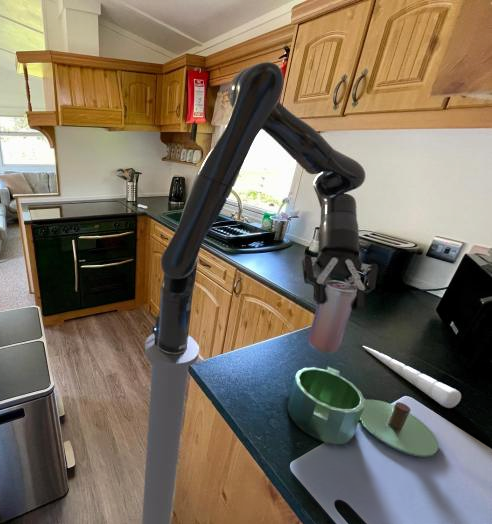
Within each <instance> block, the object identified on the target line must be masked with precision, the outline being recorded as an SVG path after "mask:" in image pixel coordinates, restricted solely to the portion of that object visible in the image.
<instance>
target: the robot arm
mask: <svg viewBox="0 0 492 524" xmlns="http://www.w3.org/2000/svg"><path fill="white" fill-rule="evenodd" d="M284 81H285V80H284V74H283V71H282V69H281V67H279V65H278V64H276V63H274V62H271V61H265V62H259V63H255V64H253V65H251V66H248V67H247V68H244V69H242V70H240V71H239V72H238V73H237V74H235V76H233V78H232V79H231V81H230V83H229V86H228V91H227V98H228V103H229V105H230V106H231V108H232V111H231V113H230V115H229V118H228V121H227V123H226V125H225V128H224V130H223V131H222V134H221V135H220V136H219V138H218V140H217V141H216V142H215V143H214V145H213V146H212V147H211V149H210V150H209V152H208V153H207V155H206V156H205V158H204V159H203V161H202V162H201V164H200V166H199V168H198V170H197V173H196V174H195V178H194V180H193V182H192V185H191V187H190V190H189V193H188V196H187V197H186V200H185V204H184V207H183V210H182V213H181V216H180V220H179V223H178V224H177V227H176V229H175V231H174V233H173V235H172V237H171V238H170V241H169V242H168V244H167V246H166V247H165V249H164V251H163V252H162V254H161V256H160V257H161V258H160V267H161V270H162V272H163V277H162V282H161V285H160V297H159V312H158V313H159V314H158V315H157V316H156V317H155V324H154V325H152V329H151V330H152V333H151V334H153V333H154V335H155V342H154V344H155V345H157V347H158V349H159V350H160V351H162V352H163V353H165V354H169V355H180V354H182V353H184V352H185V351H186V350H187V344H188V335H189V334H190V333H189V332H190V324H191V315H192V305H193V297H194V291H195V290H194V289H195V286H196V285H195V284H196V278H197V269H198V261H199V253H200V250H201V248H202V245H203V243H204V240H205V238H206V236H207V235H208V233H209V231H210V230H211V228H212V227H213V225H214V224H215V222H216V220H217V218H218V217H219V216H220V214H221V211H222V210H223V209H224V206H225V204H226V203H227V201H228V199H229V197H230V195H231V193H232V191H233V189H234V187H235V185H236V182H237V180H238V177H239V176H240V174H241V171H242V169H243V167H244V165H245V164H246V161H247V158H248V156H249V154H250V152H251V150H252V148H253V146H254V144H255V142H256V140H257V138H258V136H259V135H260V133H261V131H262V130H263V131H264V133H266V134H267V135H268V136H270V137H271V138H272V139H273V140H274V141H275V142H276V143H277V144H278V145H279V146H280V147H281V148H282V149H283V150H284V151H285V152H286V153H287V154H288V155H289V156H290V157H291V158H292V159H293V160H294V161H295V162H296V163H297V164H298V165H299V166H300V167H301V168H302V169H303V170H304V171H305V172H306V173H307V174H309V175H317V176H316V177H315V179H314V181H313V190H314V192H315V194H316V196H317V201H318V203H319V206H320V222H319V226H318V227H319V228H318V234H317V236H318V249H317V252H318V253H317V256H311V255H310V254H306V255H305V256H304V257H303V259H302V261H301V265H302V274H303V282H304V284H306V285H310V286H312V288H313V295H312V296H313V297H312V298H313V301H314V302H315V303H316V304H317V305H318V304H321V303H323V300H324V284H323V283H325V281H326V279H327V278H330V279H336V278H337V279H338V280H342V281H344V282H346V283H349V284H351V285H353V286H355V287H356V288H357V291H356V292H357V296H356V299H355V302H354V305H353V308H352V311H355V312H358V311H359V310H361V309H362V308H364V306H365V294H370V292H372V291H373V290H375V289H376V284H377V278H378V270H379V269H378V268H379V265H378V264H376V263H371V264H367V263H363V262H362V260H361V259H360V235H359V233H360V232H359V229H360V228H359V222H358V211H357V200H356V198H355V197H354V196H353V195H351V194H349V193H348V192H351V191H353V190H356V189H358V188H360V187H362V185H363V184H364V183H365V180H366V171H365V169H364V167H363V166H362V165H361V164H360V163H359V162H358V161H357V160H356V159H354V158H352V157H349V156H348V155H346V154H344V153H342V152H340V151H339V150H336V149H335V148H333V147H332V146H331V144H330V143H329V142H328V141H327V140H326V139H325V138H324V137H323V136H322V134H321V133H319V131H317V130H316V129H315V128H314V127H312V126H311V125H309V123H306V122H305V121H304V120H302V119H301V118H299V117H297V116H296V115H295V114H293V112H291V111H290V110H289V109H287V108H286V107H285V106H284V105H283V104H282V103H281V102H280V99H281V97H282V93H283V90H284V84H285V83H284ZM315 264H316V265H317V266H318V267H319V269H320V270H321V272H320V273H319V275H318V277H315V275H314V269H313V268H314V266H315ZM358 270H361V272H362V275H364V279H363V281H362V280H361V275H360V274H359V272H358Z"/></svg>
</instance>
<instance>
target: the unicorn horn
mask: <svg viewBox="0 0 492 524" xmlns="http://www.w3.org/2000/svg"><path fill="white" fill-rule="evenodd" d="M362 347H363V349H364V350H366V351H367V352H368V353H369V354H371V355H372V356H374V358H376V359H377V360H378V361H380V362H381V363H383V364H384V365H386V367H388V368H390V369H391V370H393V372H395V373H396V374H397V375H399V376H400V377H402V378H403V379H404V380H406V381H407V382H409V383H410V384H411V385H413V386H414V387H415V388H417V389H419V390H420V391H421V392H423V393H424V394H425V395H427V396H428V397H429V398H431V399H432V400H434V401H435V402H436V403H438V404H439V405H440V406H442V407H444V408H445V409H446V408H447V409H452V408H454V407H456V406H457V405H458V404H459V403H460V402H461V399H462V394H461V392H460V391H459V390H457V389H456V388H453V387H451V386H449V385H447V384H445V383H443V382H441V381H438V380H437V379H435V378H433V377H431V376H429V375H427V374H425V373H422V372H421V371H419V370H417V369H414V368H413V367H410V366H409V365H406V364H404V363H403V362H400V361H398V360H396V359H394V358H392V357H391V356H388V355H386V354H384V353H382V352H379V351H377V350H375V349H372V348H371V347H368V346H365V345H362Z"/></svg>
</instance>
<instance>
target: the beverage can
mask: <svg viewBox="0 0 492 524" xmlns="http://www.w3.org/2000/svg"><path fill="white" fill-rule="evenodd" d="M323 285H324V300H323V303H321V304H317V305H316V309H315V313H314V316H313V318H312V319H313V320H312V323H311V327H310V330H309V333H308V337H307V341H308V343H309V345H310V346H311V348H313V349H314V350H316V351H318V352H319V353H323V354H330V355H331V354H335V353H336V352H338V351H339V349H340V346H341V344H342V341H343V337H344V335H345V332H346V328H347V325H348V322H349V319H350V316H351V313H352V311H353V309H352V308H353V305H354V302H355V299H356V296H357V292H356V291H357V288H356V287H355V286H353V285H351V284H349V283H346V281H344V280H342V281H341V280H339V279H338V280H336V279H327V280H325V281H324V284H323Z"/></svg>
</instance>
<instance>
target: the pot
mask: <svg viewBox="0 0 492 524" xmlns="http://www.w3.org/2000/svg"><path fill="white" fill-rule="evenodd" d="M340 373H341V371H340V370H337V369H335V368H332V367H330V366H327V368H326V369H323V368H319V367H304V368H302V369H300V370H298V371H297V372H296V374H295V377H294V380H293V384H292V386H291V391H290V394H289V398H288V401H287V412H288V415H289V416H290V418H291V420H292V422H294V423H295V425H296V426H297V427H298V428H299V429H301V430H302V431H303V432H304V433H306V434H307V435H309V436H311V437H312V438H314V439H316V440H318V441H321V442H324V443H326V444H330V445H331V444H332V445H343V444H346V443H348V442H350V441H351V440H352V439H353V437H354V435H355V433H356V429H357V428H358V425H359V422H360V417H361V415H362V412H363V410H364V406H365V400H366V398H365V397H364V395H363V393H362V392H361V390H360V389H359V388H358V387H357V386H356V385H355V384H354V383H352V381H350V380H348V379H346V378H345V377H343V376H342V375H340Z"/></svg>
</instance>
